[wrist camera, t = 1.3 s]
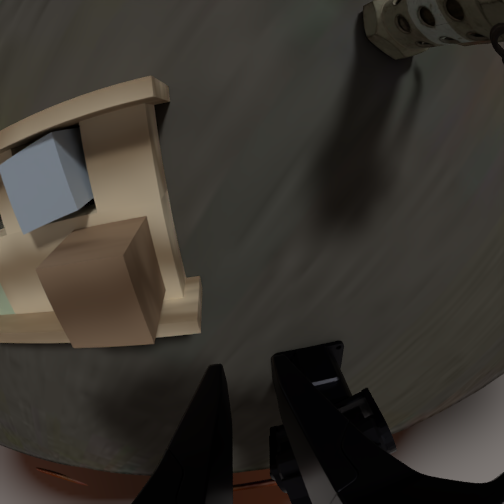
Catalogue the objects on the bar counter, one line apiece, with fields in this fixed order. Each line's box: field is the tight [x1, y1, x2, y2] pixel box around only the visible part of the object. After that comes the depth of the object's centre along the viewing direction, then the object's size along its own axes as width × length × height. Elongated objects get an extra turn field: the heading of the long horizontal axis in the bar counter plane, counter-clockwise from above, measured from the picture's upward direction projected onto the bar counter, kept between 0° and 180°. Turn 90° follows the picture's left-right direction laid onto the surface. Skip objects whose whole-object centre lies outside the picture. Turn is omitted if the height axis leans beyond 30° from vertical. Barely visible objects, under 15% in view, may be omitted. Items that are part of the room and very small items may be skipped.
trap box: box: [0, 76, 202, 343], centre depth 15 cm, size 14×22×5 cm, turn 96°
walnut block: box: [35, 216, 166, 348], centre depth 15 cm, size 5×5×5 cm
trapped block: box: [0, 127, 94, 235], centre depth 14 cm, size 4×4×4 cm
